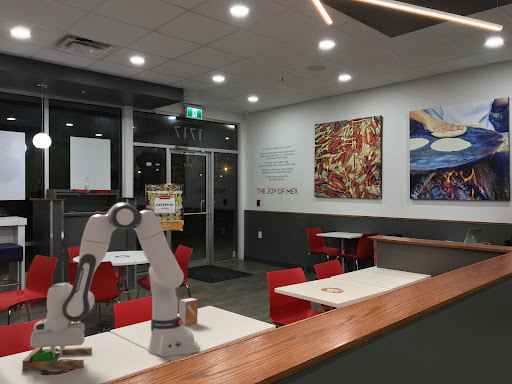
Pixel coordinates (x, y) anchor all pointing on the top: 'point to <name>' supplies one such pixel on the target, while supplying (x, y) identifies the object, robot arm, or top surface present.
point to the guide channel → (52, 365)
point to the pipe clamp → (44, 356)
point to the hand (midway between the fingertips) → (57, 356)
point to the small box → (188, 311)
